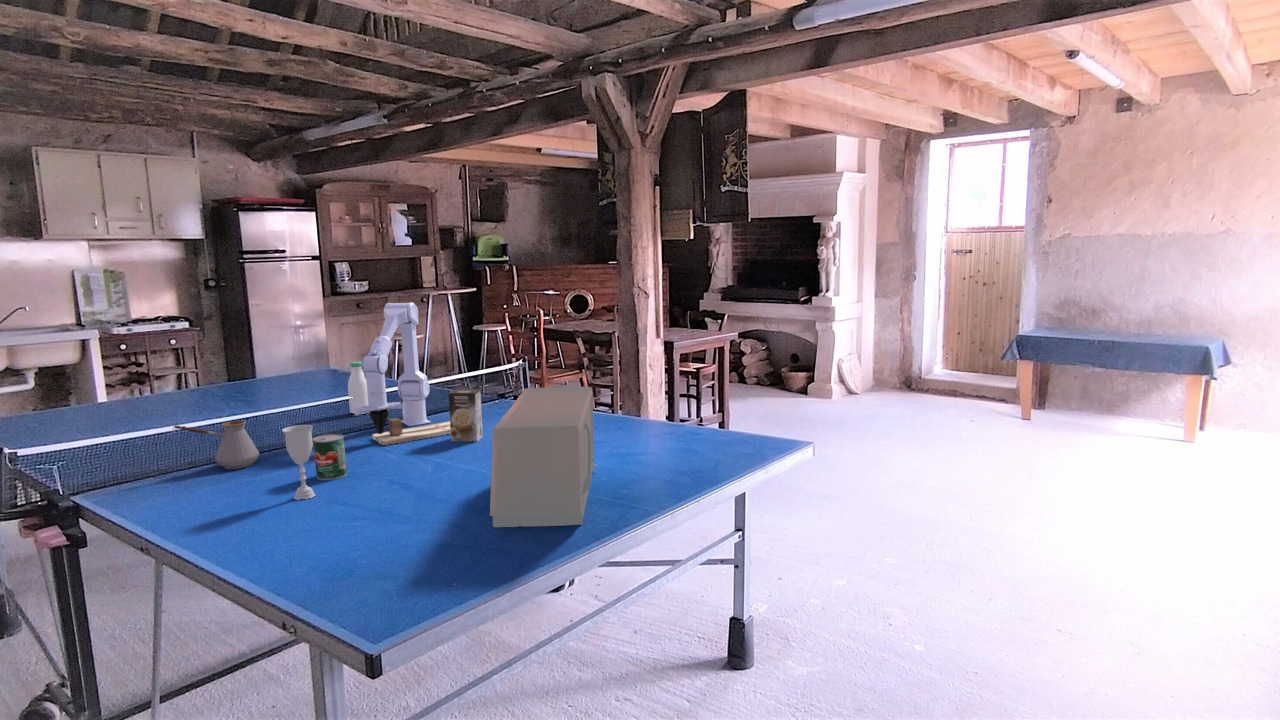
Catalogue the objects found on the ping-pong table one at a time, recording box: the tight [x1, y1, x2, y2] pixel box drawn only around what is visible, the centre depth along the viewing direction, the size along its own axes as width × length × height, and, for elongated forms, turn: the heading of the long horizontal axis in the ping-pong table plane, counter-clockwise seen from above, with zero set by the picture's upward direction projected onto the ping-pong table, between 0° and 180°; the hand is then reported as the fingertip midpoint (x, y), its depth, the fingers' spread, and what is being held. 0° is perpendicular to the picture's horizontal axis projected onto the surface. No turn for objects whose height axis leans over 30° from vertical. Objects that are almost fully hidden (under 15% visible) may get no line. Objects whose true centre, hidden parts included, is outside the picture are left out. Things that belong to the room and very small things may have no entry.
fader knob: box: [387, 417, 403, 436], centre depth 245 cm, size 4×3×5 cm
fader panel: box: [371, 420, 451, 446], centre depth 250 cm, size 12×28×2 cm, turn 126°
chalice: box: [281, 424, 316, 501], centre depth 189 cm, size 7×7×18 cm
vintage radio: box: [489, 386, 598, 528], centre depth 184 cm, size 45×22×24 cm, turn 178°
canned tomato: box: [312, 433, 348, 481], centre depth 206 cm, size 8×8×11 cm
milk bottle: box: [347, 360, 368, 413], centre depth 283 cm, size 8×8×20 cm
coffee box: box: [448, 388, 484, 443], centre depth 242 cm, size 9×6×16 cm
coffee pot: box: [171, 420, 260, 470], centre depth 216 cm, size 21×12×15 cm, turn 135°
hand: (380, 433), depth 242 cm, fingers closed
